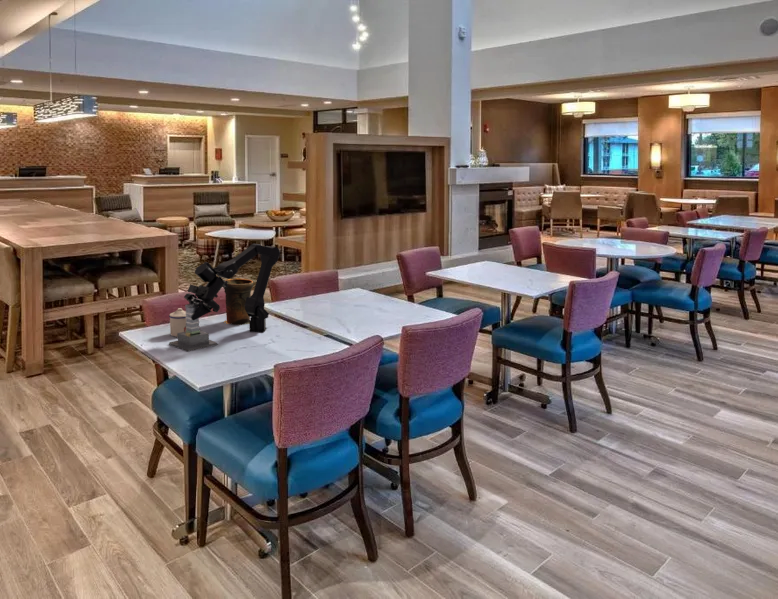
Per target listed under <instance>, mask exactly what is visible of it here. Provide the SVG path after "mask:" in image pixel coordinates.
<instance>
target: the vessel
mask: <svg viewBox="0 0 778 599" xmlns="http://www.w3.org/2000/svg"><path fill="white" fill-rule="evenodd" d="M224 280H225V281H227V284H228V287H222V288H223V290H224V294H225V312H226V313H225V314H226V316H225V317H226V320H224V322H223V323H224V324H227V325H232V326H244V325H249V321H250V320H251V319H250V318H251V317H249V316H248V314H247V312H246V310H245V305H244V304H245V303H246V298H247V297H251V296H252V295H251V293H252V289H253V288H254V281H253V280H252V279H248V278H231V279H224ZM225 322H226V323H225Z"/></svg>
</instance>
